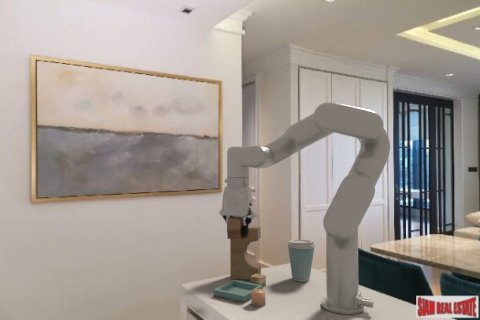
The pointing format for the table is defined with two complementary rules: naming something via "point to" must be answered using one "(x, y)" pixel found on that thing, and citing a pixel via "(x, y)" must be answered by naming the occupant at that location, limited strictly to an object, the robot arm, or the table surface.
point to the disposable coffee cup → (301, 258)
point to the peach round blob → (258, 297)
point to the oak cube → (258, 279)
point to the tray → (236, 291)
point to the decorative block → (244, 256)
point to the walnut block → (235, 228)
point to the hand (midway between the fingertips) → (237, 235)
